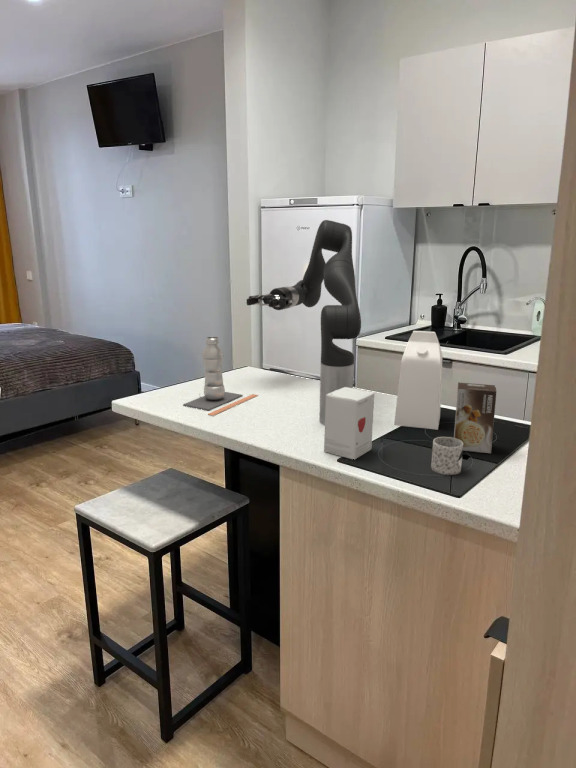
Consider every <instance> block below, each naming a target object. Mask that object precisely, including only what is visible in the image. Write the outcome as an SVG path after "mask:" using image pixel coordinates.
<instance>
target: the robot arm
mask: <svg viewBox="0 0 576 768" xmlns="http://www.w3.org/2000/svg"><path fill="white" fill-rule="evenodd" d="M352 231H353V230H352V227H351V226H349V225H347V224H346V223H342V222H337V221H333V220H329V219H324V220H322V221H321V222H320V224H319V226H318V228H317V231H316V234H315V238H314V241H313V244H312V245H313V246H312V250H311V253H310V258H309V261H308V264H307V265H308V266H307V268H306V270H305V273H304V275H303V277H302V279H301V280H299V281H298V282H296V284H294V285H293V286H281V287H277V288H276V287H275V288H273V289H272V290H270V292H269V293H266V294H256V295H250V296H248V298H246V305H247V306H255V305H258V306H268V307H269V308H272V309H274V310H276V311H283V310H286V309H290V308H293V307H296V306H300V305H302V304H303V306H305V307H307V308H312V307H315V306H316V305H317V304H318V303H319V301H320V299H321V296H322V295H321V294H322V283H323V285H324V288H325V289H326V291H327V292H328V293H329V295H330V296H331V297H332V298H334V299H335V300H336V301H337V302H338V303H340V304H333V305H332V304H330V305H329V304H326V305H324V306H323V307H322V309H321V312H320V337H321V338H320V341H321V345H320V346H321V349H320V373H319V374H320V375H319V376H320V378H319V381H320V382H319V418H318V421H319V423H320V424H321V425H324V426H325V408H326V394H329V393H331V392H334V391H335V390H339V389H341V388H344V387H348V388H353V389H354V370H355V369H354V368H355V367H354V366H355V365H354V364H355V355H354V353H353V352H352V351H349V350H347V349H344V348H342V347H339V346H338V345H336V344H335V343H334V341H333V340H353V339H357V338H358V337H359V336H360V334H361V330H362V316H361V310H360V306H359V302H358V298H357V297H358V296H357V292H356V289H357V288H356V275H355V268H354V267H355V266H354V262H353V261H354V260H353V232H352ZM323 250H325V251H330V252H333V253H336V254H334V255H332V256H331V257H330V258H329V259H328V260H327V261H326V260H325V258H324V256H323V255H324V254H323Z"/></svg>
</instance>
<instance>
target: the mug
mask: <svg viewBox="0 0 576 768" xmlns="http://www.w3.org/2000/svg"><path fill="white" fill-rule="evenodd" d="M430 462H431V464H430V469H431V470H432V471H433V472H435V473H438V474H439V475H440V474H441V475H445V476H454V475H455V476H456V475H458V474H461V472H462V462H463V442H462V441H461V440H459V439H456V438H454V437H452V436H437V437H435V438H434V439H433V441H432V450H431V461H430Z"/></svg>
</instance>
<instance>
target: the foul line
mask: <svg viewBox="0 0 576 768" xmlns="http://www.w3.org/2000/svg"><path fill="white" fill-rule="evenodd" d="M258 396H259V395H258V394H256V393H255V394H253V393H252V394H249V395H248V396H246V397H243V398H241V399H237V400H236V401H234V402H231V403H230V404H229V403H228V404H226V405H224V406H223V407H221V408H218V409H216V410H213V411H210V412H209V413H208V414H207V415H208V416H212V417H215V416H216V415H218V414H221V413H223V412H225V411H228V410H229V409H232V408H234V407H237V406H239V405H241V404H243V403H245V402H248V401H249V400H252V399H254V398H256V397H258ZM236 405H237V406H236ZM227 409H228V410H227Z"/></svg>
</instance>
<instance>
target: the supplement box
mask: <svg viewBox="0 0 576 768" xmlns="http://www.w3.org/2000/svg"><path fill="white" fill-rule="evenodd" d="M374 405H375V392H371V391H367V390H362V389H359V388H358V389H357V388H354V387H353V388H348V387H344V388H341V389H339V390H335V391H334V392H331V393H329V394H326V408H325V425H324V437H323V438H324V440H323V452H326V453H329V454H333V455H335V456H336V455H337V456H340V457H343V458H346V459H350V460H353V459H354V461H355V460H356V459H357V458H360V457H361V456H363V455H365V454H366V453H367V452H369V451H371V450H372V448H373V447H372V445H373V443H372V442H373V428H374V409H375V407H374Z"/></svg>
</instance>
